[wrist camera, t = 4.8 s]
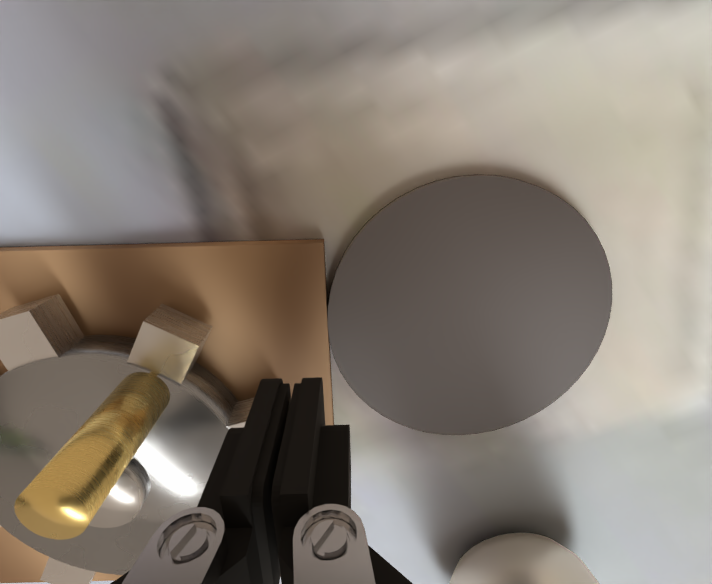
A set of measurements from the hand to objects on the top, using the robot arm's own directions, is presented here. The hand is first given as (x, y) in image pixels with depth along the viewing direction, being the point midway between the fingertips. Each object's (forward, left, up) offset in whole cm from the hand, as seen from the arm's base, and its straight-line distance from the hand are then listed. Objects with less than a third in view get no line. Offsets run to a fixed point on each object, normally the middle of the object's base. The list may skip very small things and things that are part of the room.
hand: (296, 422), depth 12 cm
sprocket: (+7, +4, -4) cm, 9 cm away
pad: (-6, -1, -4) cm, 7 cm away
